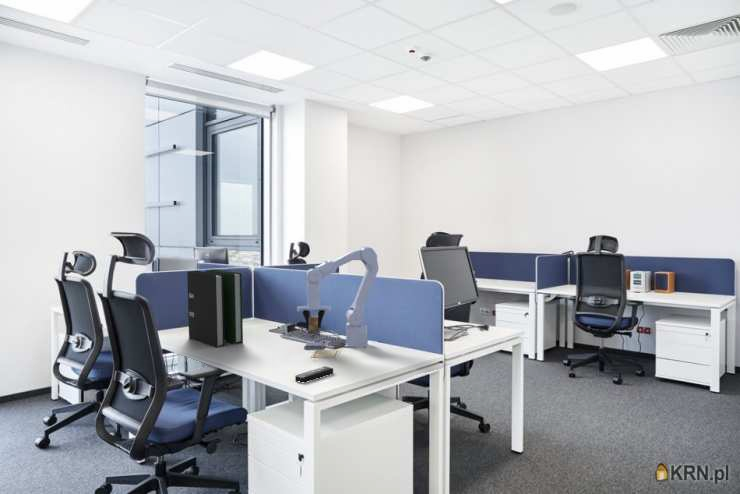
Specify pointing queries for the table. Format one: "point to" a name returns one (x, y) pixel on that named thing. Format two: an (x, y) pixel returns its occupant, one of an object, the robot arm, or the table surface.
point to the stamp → (313, 325)
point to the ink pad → (314, 346)
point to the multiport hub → (314, 374)
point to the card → (325, 353)
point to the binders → (215, 307)
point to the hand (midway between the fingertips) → (314, 327)
